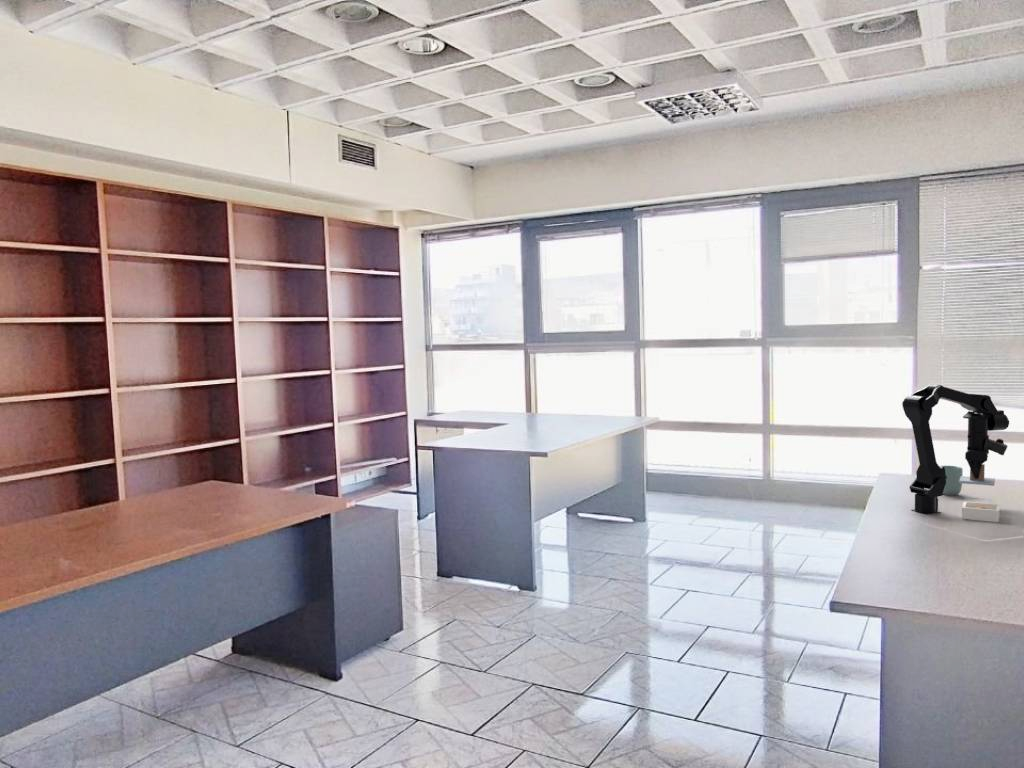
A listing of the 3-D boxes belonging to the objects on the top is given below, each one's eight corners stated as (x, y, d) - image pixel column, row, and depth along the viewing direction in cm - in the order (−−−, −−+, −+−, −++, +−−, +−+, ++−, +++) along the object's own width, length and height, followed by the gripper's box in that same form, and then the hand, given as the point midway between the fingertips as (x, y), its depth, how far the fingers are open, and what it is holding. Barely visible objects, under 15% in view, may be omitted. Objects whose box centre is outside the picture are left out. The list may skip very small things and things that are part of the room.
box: (998, 523, 243) (999, 510, 243) (961, 519, 249) (962, 507, 248) (999, 516, 251) (999, 504, 251) (963, 513, 257) (963, 501, 257)
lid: (994, 485, 257) (994, 468, 257) (959, 483, 262) (959, 466, 262) (994, 480, 265) (995, 463, 265) (960, 478, 271) (961, 461, 270)
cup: (955, 492, 290) (956, 465, 289) (966, 496, 282) (966, 469, 281) (933, 492, 290) (934, 465, 290) (943, 496, 283) (943, 469, 282)
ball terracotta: (981, 516, 250) (981, 507, 250) (973, 514, 253) (973, 505, 252) (988, 516, 251) (989, 506, 250) (980, 514, 253) (981, 505, 253)
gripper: (1005, 436, 251) (1004, 484, 252) (1006, 429, 266) (1005, 475, 267) (965, 434, 257) (964, 481, 258) (968, 428, 272) (967, 472, 273)
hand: (976, 477), depth 264 cm, fingers closed on lid, 4 cm apart
